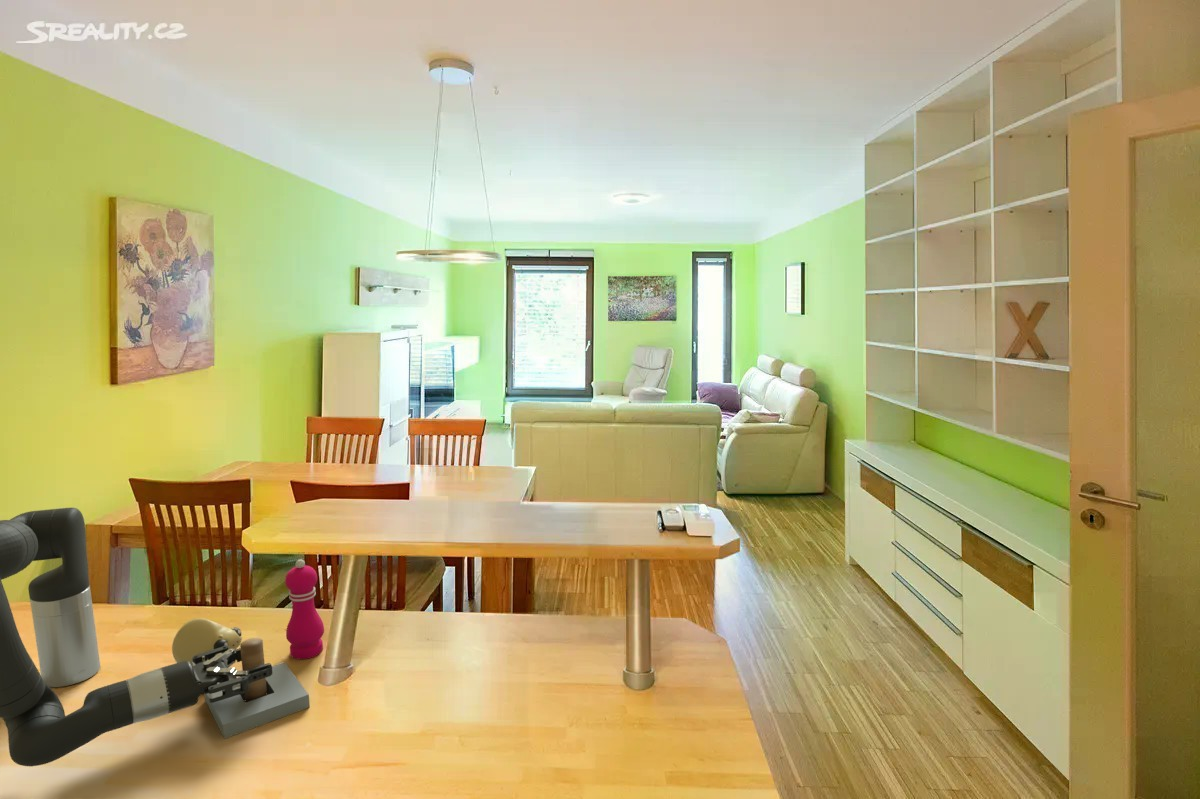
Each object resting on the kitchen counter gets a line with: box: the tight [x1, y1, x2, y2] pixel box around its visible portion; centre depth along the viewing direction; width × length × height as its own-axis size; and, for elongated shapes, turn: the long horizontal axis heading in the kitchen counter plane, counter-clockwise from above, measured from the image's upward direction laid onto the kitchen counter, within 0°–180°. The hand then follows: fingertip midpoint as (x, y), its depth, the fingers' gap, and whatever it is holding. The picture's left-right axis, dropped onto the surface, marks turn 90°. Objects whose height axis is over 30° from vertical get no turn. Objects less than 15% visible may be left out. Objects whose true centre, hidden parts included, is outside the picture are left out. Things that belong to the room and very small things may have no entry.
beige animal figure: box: [171, 617, 243, 666], centre depth 142 cm, size 10×12×11 cm
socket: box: [204, 661, 310, 739], centre depth 131 cm, size 14×14×2 cm
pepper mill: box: [284, 559, 325, 660], centre depth 148 cm, size 7×7×20 cm
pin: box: [239, 637, 268, 703], centre depth 131 cm, size 4×4×12 cm
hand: (264, 658), depth 131 cm, fingers open, 8 cm apart
